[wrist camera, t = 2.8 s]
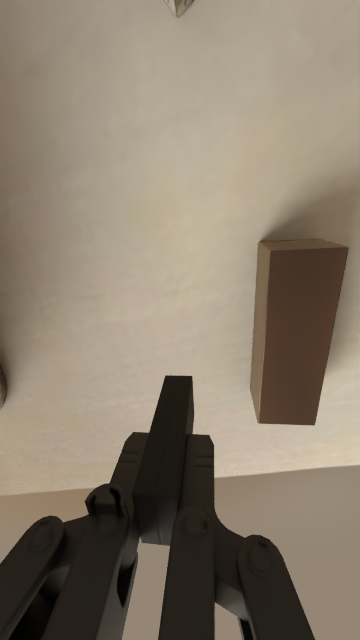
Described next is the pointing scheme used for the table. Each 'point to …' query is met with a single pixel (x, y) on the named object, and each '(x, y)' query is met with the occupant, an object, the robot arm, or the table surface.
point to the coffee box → (178, 6)
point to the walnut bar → (293, 327)
